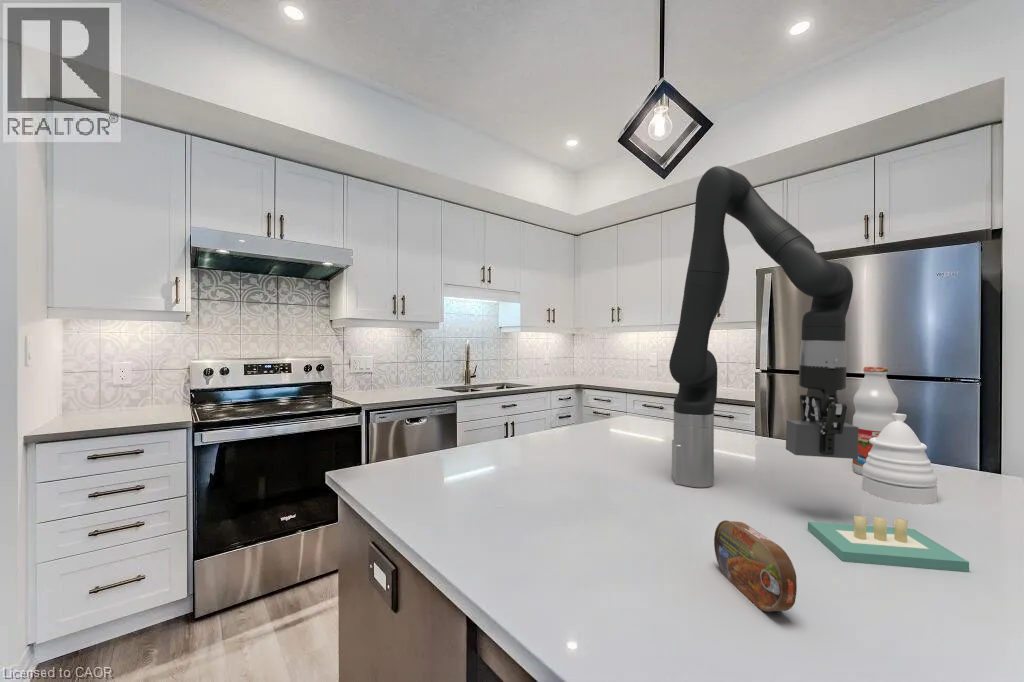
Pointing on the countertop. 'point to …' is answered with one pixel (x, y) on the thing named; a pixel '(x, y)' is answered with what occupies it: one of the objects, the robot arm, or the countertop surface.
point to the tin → (755, 566)
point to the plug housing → (807, 440)
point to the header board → (885, 545)
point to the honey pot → (899, 466)
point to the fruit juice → (872, 411)
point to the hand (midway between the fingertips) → (820, 450)
